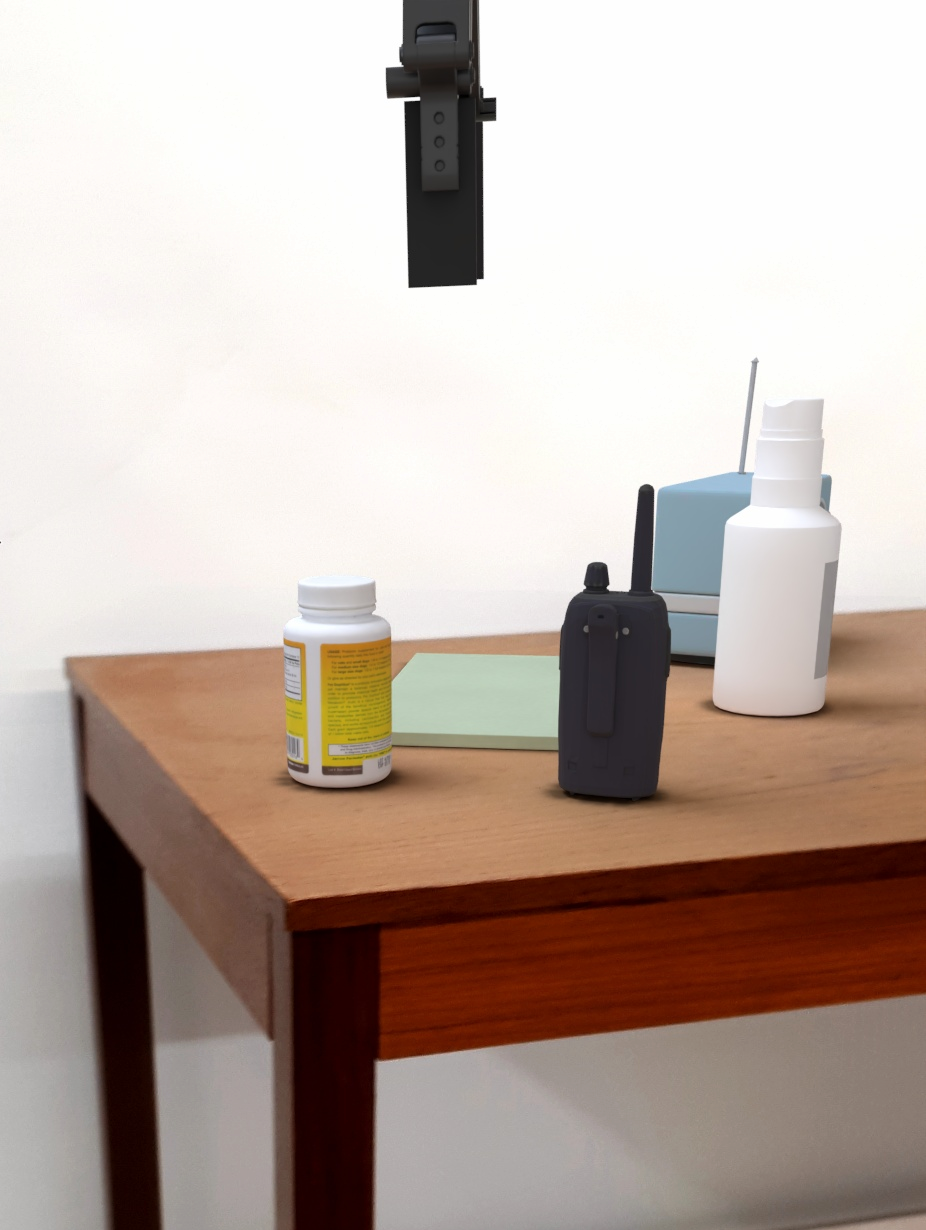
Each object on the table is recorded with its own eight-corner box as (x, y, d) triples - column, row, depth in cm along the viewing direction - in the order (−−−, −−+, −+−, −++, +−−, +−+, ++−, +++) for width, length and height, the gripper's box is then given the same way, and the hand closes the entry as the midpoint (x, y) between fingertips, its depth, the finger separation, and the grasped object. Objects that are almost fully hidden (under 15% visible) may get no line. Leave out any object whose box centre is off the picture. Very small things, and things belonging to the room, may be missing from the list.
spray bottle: (847, 708, 104) (879, 398, 97) (772, 722, 100) (800, 401, 93) (762, 691, 109) (787, 396, 102) (688, 704, 105) (709, 399, 98)
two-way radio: (669, 791, 85) (689, 482, 79) (646, 812, 81) (666, 490, 75) (564, 781, 87) (576, 480, 81) (538, 802, 83) (548, 487, 78)
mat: (642, 669, 117) (643, 657, 116) (630, 753, 93) (631, 738, 93) (416, 664, 119) (416, 652, 119) (348, 744, 96) (348, 730, 96)
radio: (770, 674, 114) (798, 359, 106) (645, 664, 118) (663, 359, 111) (831, 640, 127) (860, 356, 119) (716, 631, 131) (737, 356, 123)
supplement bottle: (411, 773, 89) (412, 576, 85) (355, 796, 85) (354, 590, 81) (324, 761, 92) (321, 570, 88) (266, 782, 88) (260, 582, 84)
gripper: (370, -235, 75) (384, 281, 84) (305, -440, 53) (334, 294, 62) (537, -248, 74) (534, 275, 83) (544, -461, 52) (538, 285, 61)
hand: (449, 284), depth 73 cm, fingers open, 13 cm apart
